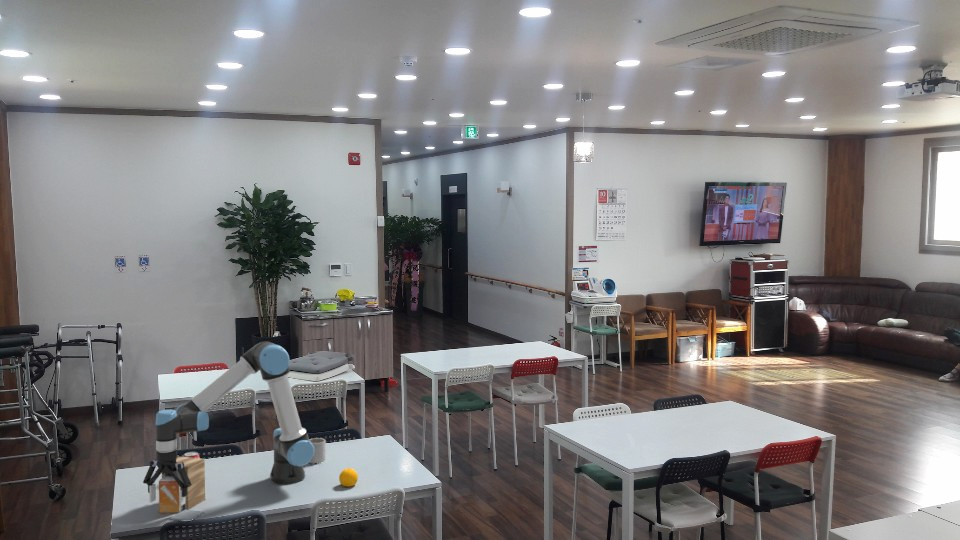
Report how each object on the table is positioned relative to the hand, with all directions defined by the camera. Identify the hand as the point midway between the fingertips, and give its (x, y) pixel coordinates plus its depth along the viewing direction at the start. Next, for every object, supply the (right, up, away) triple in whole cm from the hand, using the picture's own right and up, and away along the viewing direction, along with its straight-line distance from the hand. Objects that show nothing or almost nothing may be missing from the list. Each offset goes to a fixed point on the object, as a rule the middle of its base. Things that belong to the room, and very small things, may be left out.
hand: (167, 502), depth 294 cm
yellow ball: (+66, -2, +31) cm, 73 cm away
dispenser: (+3, -3, +10) cm, 11 cm away
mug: (+44, 0, +66) cm, 79 cm away
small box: (+1, -4, +3) cm, 5 cm away
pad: (+9, -4, -4) cm, 11 cm away
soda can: (-5, -2, +37) cm, 38 cm away
